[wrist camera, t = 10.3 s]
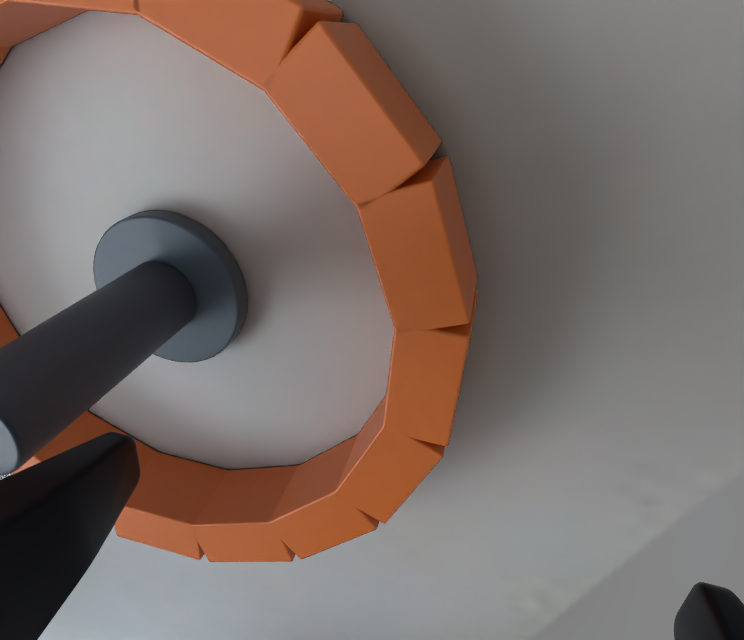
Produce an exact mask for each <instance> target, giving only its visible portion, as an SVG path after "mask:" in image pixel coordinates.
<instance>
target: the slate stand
mask: <svg viewBox="0 0 744 640" xmlns="http://www.w3.org/2000/svg"><path fill="white" fill-rule="evenodd" d="M94 279H95V284H96V288H97V290H96V291H95V292H93V293H91V294H90V295H88V296H86V297H85V298H83V299H81V300H80V301H78V302H76V303H75V304H73V305H71V306H70V307H68V308H66V309H65V310H63V311H61V312H60V313H58V314H56V315H55V316H53V317H51V318H50V319H48V320H46V321H45V322H43V323H41V324H40V325H38V326H36V327H35V328H33V329H31V330H30V331H28V332H26V333H25V334H23V335H21V336H20V337H18V338H16V339H15V340H13V341H11V342H10V343H8V344H6V345H4V346H3V347H1V348H0V475H6V474H10V473H12V472H15V471H16V470H18V469H19V468H20V467H22V466H23V465H24V464H25V463H26V462H27V461H29V460H30V459H31V458H32V457H33V456H34V455H36V454H37V453H38V452H39V451H40V450H41V449H43V448H44V447H45V446H46V445H47V444H48V443H49V442H51V441H52V440H53V439H54V438H55V437H56V436H58V435H59V434H60V433H61V432H62V431H63V430H65V429H66V428H67V427H68V426H69V425H70V424H72V423H73V422H74V421H75V420H76V419H77V418H79V417H80V416H81V415H82V414H83V413H84V412H86V411H87V410H88V409H89V408H90V407H91V406H92V405H94V404H95V403H96V402H97V401H98V400H99V399H101V398H102V397H103V396H104V395H105V394H106V393H108V392H109V391H110V390H111V389H112V388H113V387H115V386H116V385H117V384H118V383H119V382H120V381H122V380H123V379H124V378H125V377H126V376H127V375H129V374H130V373H131V372H132V371H133V370H134V369H135V368H137V367H138V366H139V365H140V364H141V363H142V362H144V361H145V360H146V359H147V358H148V357H149V356H151V355H152V354H154V355H157V356H159V357H162V358H165V359H168V360H172V361H178V362H198V361H202V360H206V359H209V358H211V357H214V356H215V355H217V354H219V353H220V352H222V351H223V350H224V349H225V348H226V347H227V346H228V345H229V344H230V343H231V342H232V341H233V340H234V338H235V337H236V336H237V335H238V333H239V332H240V330H241V328H242V326H243V323H244V320H245V317H246V311H247V294H246V288H245V283H244V280H243V277H242V274H241V271H240V269H239V267H238V265H237V263H236V261H235V260H234V258H233V257H232V255H231V254H230V252H229V251H228V250H227V248H226V247H225V246H224V245H223V243H222V242H221V241H220V240H219V239H218V238H217V237H216V236H215V235H214V234H212V233H211V232H210V231H209V230H208V229H206V228H205V227H203V226H202V225H200V224H199V223H197V222H195V221H193V220H191V219H189V218H187V217H185V216H182V215H179V214H176V213H172V212H168V211H158V210H154V211H144V212H139V213H137V214H134V215H131V216H129V217H127V218H125V219H123V220H121V221H119V222H117V223H116V224H114V225H113V226H111V227H110V228H109V229H108V230H107V231H106V232H105V234H104V235H103V236H102V238H101V240H100V242H99V244H98V246H97V249H96V252H95V256H94Z"/></svg>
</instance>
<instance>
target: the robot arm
mask: <svg viewBox="0 0 744 640" xmlns="http://www.w3.org/2000/svg"><path fill="white" fill-rule="evenodd" d="M140 472H141V471H140V464H139V458H138V452H137V446H136V441H135V440H134V438H133V437H131V436H129V435H125V434H121V433H117V432H108V433H105V434H103V435H100V436H98V437H96V438H94V439H91V440H89V441H87V442H85V443H82V444H80V445H78V446H76V447H73V448H71V449H69V450H67V451H64V452H62V453H60V454H58V455H55V456H53V457H51V458H49V459H46V460H44V461H42V462H40V463H38V464H35V465H33V466H31V467H29V468H26V469H24V470H22V471H20V472H17V473H15V474H13V475H11V476H8V477H6V478H4V479H2V480H0V640H37V639H38V638H39V637H40V635H41V634H42V632H43V631H44V630H45V628H46V627H47V625H48V624H49V623H50V621H51V620H52V618H53V617H54V616H55V614H56V613H57V611H58V610H59V609H60V607H61V606H62V604H63V603H64V602H65V600H66V599H67V597H68V596H69V595H70V593H71V592H72V590H73V589H74V588H75V586H76V585H77V584H78V582H79V581H80V579H81V578H82V576H83V575H84V573H85V572H86V571H87V569H88V568H89V566H90V565H91V563H92V561H93V560H94V558H95V557H96V555H97V553H98V552H99V550H100V548H101V547H102V545H103V543H104V541H105V540H106V538H107V536H108V534H109V533H110V531H111V529H112V528H113V526H114V524H115V522H116V521H117V519H118V517H119V516H120V514H121V512H122V510H123V509H124V507H125V505H126V504H127V502H128V500H129V498H130V497H131V495H132V493H133V492H134V490H135V488H136V486H137V484H138V482H139V479H140ZM674 637H675V640H744V604H743V603H742V602H741V601H740V599H739V598H738V597H737V596H736V595H735V594H734V593H733V592H732V591H730V590H729V589H726V588H723V587H720V586H715V585H712V584H708V583H704V582H699V583H697V584H695V585H694V586H693V588H692V589H691V591H690V593H689V594H688V596H687V598H686V600H685V601H684V603H683V604H682V606H681V608H680V609H679V611H678V613H677V615H676V618H675V623H674Z"/></svg>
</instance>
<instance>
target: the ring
mask: <svg viewBox="0 0 744 640" xmlns="http://www.w3.org/2000/svg"><path fill="white" fill-rule="evenodd" d="M87 10H94V11H104V12H113V13H123V14H133V15H139V16H141V17H142V18H144V19H145V20H147V21H149V22H150V23H152V24H154V25H155V26H157V27H159V28H160V29H162V30H164V31H165V32H167V33H169V34H170V35H172V36H174V37H175V38H177V39H179V40H180V41H182V42H184V43H185V44H187V45H189V46H190V47H192V48H194V49H195V50H197V51H199V52H200V53H202V54H204V55H205V56H207V57H209V58H210V59H212V60H214V61H215V62H217V63H219V64H220V65H222V66H224V67H225V68H227V69H229V70H230V71H232V72H234V73H235V74H237V75H239V76H240V77H242V78H244V79H245V80H247V81H249V82H250V83H252V84H254V85H255V86H257V87H259V88H260V89H262V90H264V91H265V92H266V94H267V95H268V96H269V97H270V99H271V100H272V101H273V102H274V104H275V105H276V106H277V107H278V109H279V110H280V111H281V113H282V114H283V115H284V116H285V118H286V119H287V120H288V121H289V123H290V124H291V125H292V126H293V128H294V129H295V130H296V132H297V133H298V134H299V135H300V137H301V138H302V139H303V140H304V142H305V143H306V144H307V145H308V147H309V148H310V149H311V151H312V152H313V153H314V154H315V156H316V157H317V158H318V159H319V161H320V162H321V163H322V164H323V166H324V167H325V168H326V169H327V171H328V172H329V173H330V175H331V176H332V177H333V178H334V180H335V181H336V182H337V183H338V185H339V186H340V187H341V188H342V190H343V191H344V192H345V194H346V195H347V196H348V197H349V199H350V200H351V201H352V202H353V204H354V205H355V206H356V207H357V210H358V213H359V217H360V220H361V223H362V226H363V229H364V233H365V236H366V239H367V242H368V245H369V248H370V252H371V255H372V258H373V261H374V264H375V267H376V271H377V274H378V277H379V280H380V283H381V286H382V290H383V293H384V296H385V299H386V302H387V306H388V309H389V312H390V315H391V318H392V321H393V325H394V328H395V329H394V337H393V345H392V353H391V361H390V369H389V377H388V385H387V393H386V396H385V397H384V398H383V400H382V401H381V403H380V404H379V406H378V407H377V408H376V410H375V411H374V413H373V414H372V416H371V417H370V418H369V420H368V421H367V423H366V424H365V426H364V427H363V428H362V430H361V431H360V433H359V434H358V435H356V436H354V437H352V438H350V439H348V440H347V441H345V442H343V443H341V444H339V445H337V446H335V447H333V448H331V449H329V450H327V451H325V452H324V453H322V454H320V455H318V456H316V457H314V458H312V459H310V460H308V461H306V462H304V463H302V464H301V465H296V466H283V467H269V468H256V469H242V470H225V469H221V468H217V467H213V466H209V465H205V464H201V463H197V462H194V461H190V460H186V459H182V458H178V457H174V456H170V455H166V454H163V453H159V452H157V451H155V450H154V449H152V448H150V447H148V446H147V445H145V444H143V443H141V442H140V441H138V440H136V439H134V440H135V441H136V446H137V452H138V458H139V464H140V471H141V472H140V479H139V482H138V484H137V486H136V488H135V490H134V492H133V493H132V495H131V497H130V498H129V500H128V502H127V504H126V505H125V507H124V509H123V510H122V512H121V514H120V516H119V517H118V519H117V521H116V522H115V524H114V525H115V528H116V533H117V536H119V537H123V538H126V539H129V540H133V541H136V542H140V543H143V544H147V545H150V546H153V547H157V548H160V549H164V550H167V551H171V552H174V553H177V554H181V555H184V556H188V557H191V558H195V559H198V560H200V559H201V558H202V557H203V555H204V554H205V555H206V557H207V558H208V560H209V561H210V562H273V561H293V559H294V557H295V554H296V555H297V556H298V557H299V558H300V559H304V558H306V557H309V556H311V555H314V554H316V553H319V552H321V551H324V550H326V549H329V548H331V547H334V546H336V545H339V544H341V543H344V542H346V541H348V540H351V539H353V538H356V537H358V536H361V535H363V534H366V533H368V532H371V531H373V530H376V529H377V527H378V524H379V521H380V522H382V523H384V524H385V523H386V522H387V521H388V520H389V519H390V517H391V516H392V515H393V514H394V513H395V512H396V510H397V509H398V508H399V507H400V506H401V505H402V504H403V502H404V501H405V500H406V499H407V498H408V497H409V495H410V494H411V493H412V492H413V491H414V490H415V488H416V487H417V486H418V485H419V484H420V483H421V481H422V480H423V479H424V478H425V477H426V476H427V474H428V473H429V472H430V471H431V470H432V469H433V467H434V466H435V465H436V464H437V463H438V462H439V461H440V459H441V458H442V457H443V453H444V448H445V446H447V445H448V444H449V441H450V436H451V431H452V426H453V422H454V417H455V412H456V407H457V402H458V397H459V392H460V387H461V383H462V378H463V373H464V368H465V363H466V358H467V353H468V348H469V344H470V339H471V333H472V327H473V321H474V315H475V309H476V303H477V297H478V292H477V291H475V290H476V284H477V279H478V276H477V272H476V267H475V263H474V259H473V255H472V251H471V246H470V242H469V238H468V234H467V229H466V225H465V221H464V217H463V213H462V208H461V204H460V200H459V196H458V191H457V187H456V183H455V179H454V175H453V170H452V166H451V162H450V158H449V157H448V156H445V157H441V158H437V159H434V160H430V161H429V159H430V158H431V157H432V155H433V154H434V153H435V151H436V150H437V149H438V147H439V146H440V145H441V143H442V142H441V139H440V138H439V136H438V135H437V134H436V132H435V131H434V129H433V128H432V127H431V125H430V124H429V123H428V121H427V120H426V118H425V117H424V116H423V114H422V113H421V111H420V110H419V109H418V107H417V106H416V104H415V103H414V102H413V100H412V99H411V98H410V96H409V95H408V93H407V92H406V91H405V89H404V88H403V86H402V85H401V84H400V82H399V81H398V79H397V78H396V77H395V75H394V74H393V73H392V71H391V70H390V68H389V67H388V66H387V64H386V63H385V61H384V60H383V59H382V57H381V56H380V55H379V53H378V52H377V50H376V49H375V48H374V46H373V45H372V43H371V42H370V41H369V39H368V38H367V36H366V35H365V34H364V32H363V31H362V30H361V28H360V27H359V25H357V24H355V23H342V22H340V21H341V19H342V16H343V11H342V10H341V9H340V8H338V7H337V6H335V5H333V4H332V3H330V2H328V1H327V0H0V65H1V63H2V62H3V60H4V58H5V57H6V55H7V53H8V52H9V50H10V48H11V47H12V46H14V45H16V44H18V43H20V42H22V41H24V40H27V39H29V38H31V37H33V36H35V35H37V34H39V33H41V32H43V31H45V30H48V29H50V28H52V27H54V26H56V25H58V24H60V23H62V22H64V21H66V20H69V19H71V18H73V17H75V16H77V15H79V14H81V13H83V12H85V11H87ZM18 337H19V335H18V334H17V332H16V331H15V329H14V327H13V326H12V324H11V323H10V321H9V319H8V318H7V316H6V315H5V313H4V311H3V310H2V308H1V307H0V348H1V347H3V346H4V345H6V344H8V343H10V342H11V341H13V340H15V339H16V338H18ZM108 432H117V433H121V434H125V435H128V434H126V433H124V432H122V431H121V430H119V429H117V428H115V427H114V426H112V425H110V424H108V423H107V422H105V421H103V420H101V419H100V418H98V417H96V416H94V415H93V414H91V413H89V412H88V411H86V412H84V413H83V414H82V415H81V416H80V417H79V418H77V419H76V420H75V421H74V422H73V423H72V424H70V425H69V426H68V427H67V428H66V429H65V430H63V431H62V432H61V433H60V434H59V435H58V436H56V437H55V438H54V439H53V440H52V441H51V442H49V443H48V444H47V445H46V446H45V447H44V448H43V449H41V450H40V451H39V452H38V453H37V454H36V455H34V456H33V457H32V458H31V459H30V460H29V461H27V462H26V463H25V464H24V465H23V466H22V467H20V468H19V469H18V470H16V471H15V472H12V474H15V473H17V472H20V471H22V470H24V469H26V468H29V467H31V466H33V465H35V464H38V463H40V462H42V461H44V460H46V459H49V458H51V457H53V456H55V455H58V454H60V453H62V452H64V451H67V450H69V449H71V448H73V447H76V446H78V445H80V444H82V443H85V442H87V441H89V440H91V439H94V438H96V437H98V436H100V435H103V434H105V433H108Z"/></svg>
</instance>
